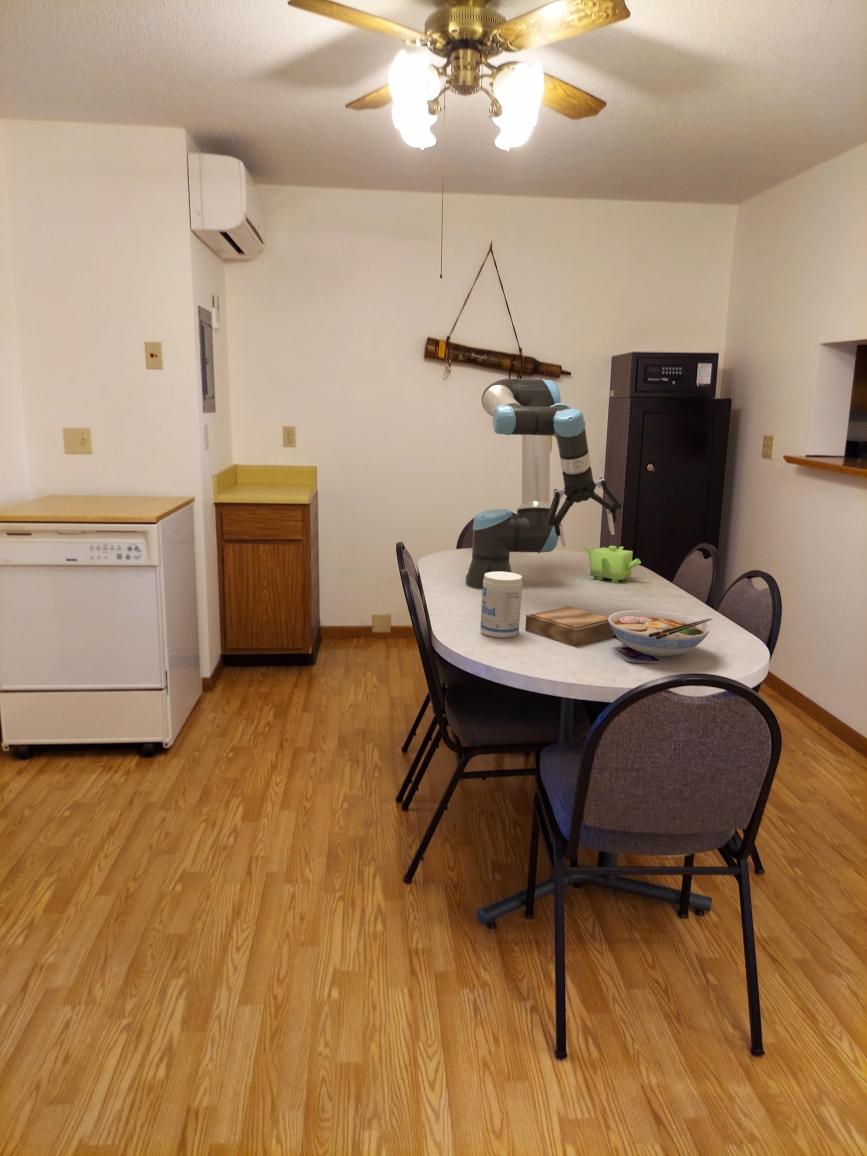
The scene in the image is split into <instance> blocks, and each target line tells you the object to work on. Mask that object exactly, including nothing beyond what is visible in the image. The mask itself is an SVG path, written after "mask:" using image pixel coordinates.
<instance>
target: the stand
mask: <svg viewBox="0 0 867 1156" xmlns="http://www.w3.org/2000/svg"><path fill="white" fill-rule="evenodd" d="M608 619H609V616H606V615H602V614H600V613H599V614H598V613H595V612H591V611H588V610H584V609H579V608H576V607H574V606H569V605H567V606H563V607H558V608H554V609H548V610H544V611H540V612H539V611H538V612H535V613H530V614H526V615H525V626H524V628H525V629H524V631H526V632H528V631H529V633H532V634H535V635H538V636H542V637H544V638H547V639H550V640H553V641H556V642H559V643H562V644H566V645H569V646H572V647H578V646H582V645H583V646H584V645H585V644H589V643H594V642H597V641H601V640H604V639H608V637H609V638H612V637H615V633H614V632H613V630H612V628H611V626H610V624H609V621H608Z"/></svg>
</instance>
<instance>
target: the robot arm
mask: <svg viewBox="0 0 867 1156" xmlns="http://www.w3.org/2000/svg"><path fill="white" fill-rule="evenodd" d="M481 406H482V408H483V410H484V411H485V412H486V414H488V415H489V416H491V417H493V419H492V426H493V431H494V433H495V434H497V435H505V436H509V435H510V436H511V435H513V436H515V435H516V436H517V435H518V436H521V439H522V441H521V442H522V443H521V448H522V449H521V453H522V454H521V504H520V506H519V507H518V508H517V510H516V514H513V511H512V510H510V509H506V508H505V509H504V508H503V509H490V510H485V511H479V512H478V513H476V514H475V515H474V518H473V524H472V547H471V548H472V550H471V555H472V556H471V561H470V565H469V567H468V571H467V573H466V575H465V580H464V581H465V585H466V586H468V587H471V588H474V589H479V590H483V580H484V575H485V574H486V573H488V572H511V573H513V572H512V568H511V567H512V566H511V563H510V554H511V553H537V554H540V553H550V552H553V551H554V550H555V549H556V547H557V545H558V542H559V539H560V543H561V545H562V548H564V547H566V546H567V544H566V540H565V533H564V528H563V524H562V521H563V520H564V518H565V516H566V515H567V513H568V512H569V510H570V508H571V507H573V505H574V504H575V503H576V504H578V503H581V502H586V501H589V500H590V499H592V500H593V501H595V502H597V503H598V504H599V505H600V506H602V507H603V508H605V509H606V516H607V523H608V529H609V532H610V534H611V536H613V535H615V534H616V533H615V526H614V523H617V510H620V509H622V507H623V505H622V504H621V502H620V501H619V500H618V498H617V497H616V496H615V494H613V492H612V491H611V490H610V489H609V487H608V486H607V482H606V480H605V479H604V477H602V476H601V477H599V479H598V480H596V481H594V478H593V472H592V471H593V470H592V467H591V458H590V453H589V452H590V451H589V445H588V440H587V439H588V438H587V431H586V421H585V418H584V414H583V411H582V410H580V409H576V408H571V407H570V406H569V405H568V404H566V403H563V402H562V400H561V393H560V389H559V386H558V385H557V383H556V381H554V380H549V379H543V378H539V379H535V378H534V379H533V378H531V379H530V378H528V379H527V378H503V379H499V380H497V381H494V382H492V383H490V384H489V385H488V386H487V387H485V389H484V390H483V392H482V395H481ZM551 436H552V437H554V438H555V440H556V442H557V448H558V453H559V460H560V466H561V470H562V478H563V485H564V488H563V489H559V490H558V489H557V488H555V489H553V498H552V501H551V499H550V497H551V496H550V495H551V494H550V493H551V492H550V491H551V489H550V487H551V485H550V483H551V482H550V479H551V477H550V476H551V474H550V473H551V471H550V470H551V469H550V467H551V466H550V464H551V463H550V462H551V457H550V455H551V454H550V452H551V451H550V450H551V448H550V447H551V446H550V445H551V444H550V443H551V442H550V441H551V440H550V439H551ZM596 487H598V488H599V489H602V490H603V492H604V493H605V494H606V495H607V496H608V498H609V499H610V501H612V503H613V504H611V503H610V502H609V501H608V500H606V499H605V498H603V497H601V496H600V495H599V494H597V493H596V492H595V490H596ZM564 495H565V496H566V497H565V499H564V502H563V503H562V505H561V506H560V502H561V501H560V500H561V499H562V498H563V496H564ZM550 501H551V503H550ZM559 506H560V508H558V507H559ZM558 509H559V510H558Z"/></svg>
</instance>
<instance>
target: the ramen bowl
mask: <svg viewBox="0 0 867 1156" xmlns="http://www.w3.org/2000/svg"><path fill="white" fill-rule="evenodd" d="M608 617H609V619H608V621H609V624H610V626H611V628H612V630H613V632H614V633H615V635H616V638H617V639H618V640H619V641H621V642H622V643H623V644H624V645H626V646H627V647H628V648H630V649H632V650H634V651H637V652H639V653H640V652H641V653H640V654H642V653H643V654H642V655H644V654H646V655H645V656H647V655H650V656H649V657H651V656H654V657H653V658H660V657H661V658H669V657H672V656H675V655H680V654H681V655H682V654H685V653H687V652H690V651H691V650H693V649H695V648H696V647H697V646H699V644H700V643H701V644H702V642H703V641H704V640H705V638H707V636H708V634H709V633H710V631H711V627H710V624H708V623H707V622H710V621H712V620H714V618H711V617H710V618H707V619H703V620H702V619H700V618H697V617H693V616H690V615H687V614H681V613H678V612H677V613H675V612H671V611H664V610H653V609H627V610H621V611H620V610H619V611H616V612H614V613H612V614H609V615H608Z"/></svg>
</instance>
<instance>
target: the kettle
mask: <svg viewBox="0 0 867 1156" xmlns="http://www.w3.org/2000/svg"><path fill="white" fill-rule="evenodd" d="M582 547H583V548H584V549H585V550H586V551H587V553H588V560H589V563H590V569H589V570H590V573H589V576H593V577H596V579H595V580H596V581H603V580H604V578H606V579H611V583H613V582H614V583H613V584H618V582H619V580H620V581H625V580H624V579H626V578H629V577H630V576H631V575H632V569H633V568H635V567H638V566H639V565H640V564H641V563H642V562H641V560H640V559H639V558H635V559H634V560H633V554H634V553H633V552H634V551H633V550H626V549H624V545H623V546H619V547H617V546H616V545H609V546H608V547H600V548H597V549H593V550H592V548H591V547H590V546H582Z"/></svg>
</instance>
